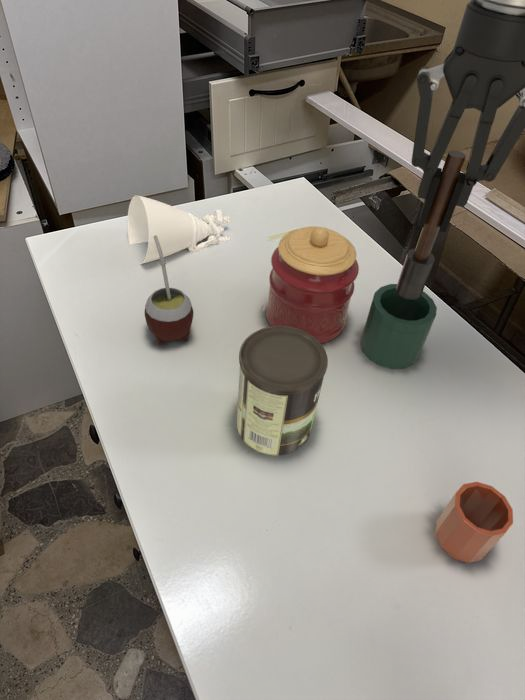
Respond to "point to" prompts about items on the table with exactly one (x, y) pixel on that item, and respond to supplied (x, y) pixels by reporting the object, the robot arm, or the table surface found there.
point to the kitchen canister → (312, 282)
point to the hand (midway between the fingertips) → (432, 223)
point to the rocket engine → (171, 227)
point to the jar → (397, 328)
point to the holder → (483, 511)
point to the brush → (429, 232)
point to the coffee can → (279, 388)
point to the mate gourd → (168, 310)
